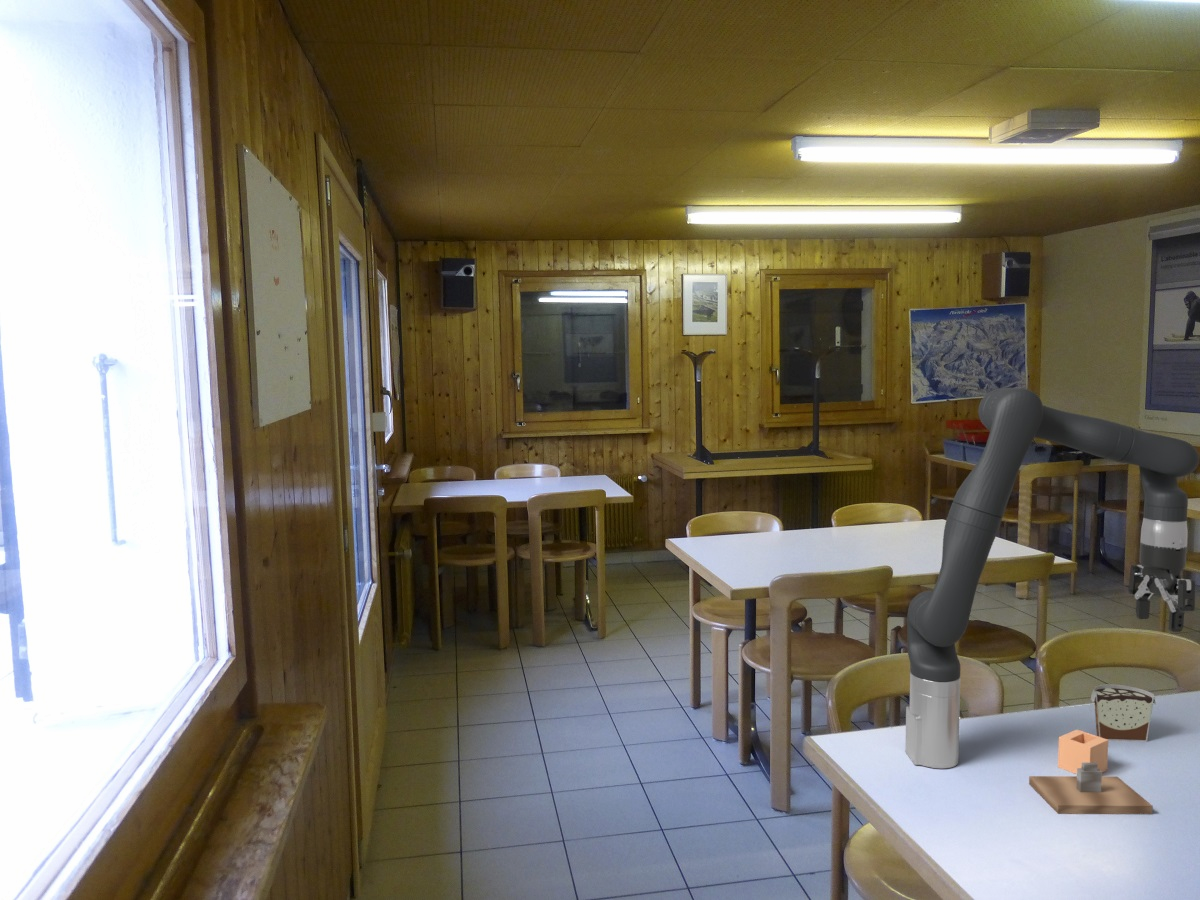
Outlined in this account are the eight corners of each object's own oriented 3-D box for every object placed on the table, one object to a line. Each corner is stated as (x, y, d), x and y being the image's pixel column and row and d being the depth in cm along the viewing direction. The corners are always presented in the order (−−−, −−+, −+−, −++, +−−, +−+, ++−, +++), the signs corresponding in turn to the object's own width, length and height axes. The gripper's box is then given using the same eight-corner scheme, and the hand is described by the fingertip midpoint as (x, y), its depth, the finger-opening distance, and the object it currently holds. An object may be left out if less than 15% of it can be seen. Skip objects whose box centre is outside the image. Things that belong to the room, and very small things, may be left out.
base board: (1057, 813, 151) (1059, 777, 151) (1029, 784, 162) (1030, 750, 162) (1152, 814, 151) (1153, 777, 150) (1116, 784, 162) (1118, 750, 161)
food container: (1139, 729, 186) (1141, 684, 185) (1154, 741, 180) (1156, 694, 179) (1078, 728, 187) (1080, 682, 186) (1091, 740, 181) (1093, 693, 180)
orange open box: (1089, 778, 164) (1090, 747, 164) (1057, 767, 169) (1058, 737, 169) (1107, 770, 168) (1108, 739, 167) (1075, 758, 173) (1076, 729, 172)
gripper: (1119, 535, 175) (1115, 615, 176) (1173, 550, 160) (1168, 636, 162) (1154, 535, 175) (1149, 614, 177) (1211, 549, 161) (1205, 635, 163)
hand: (1158, 624), depth 169 cm, fingers open, 8 cm apart
